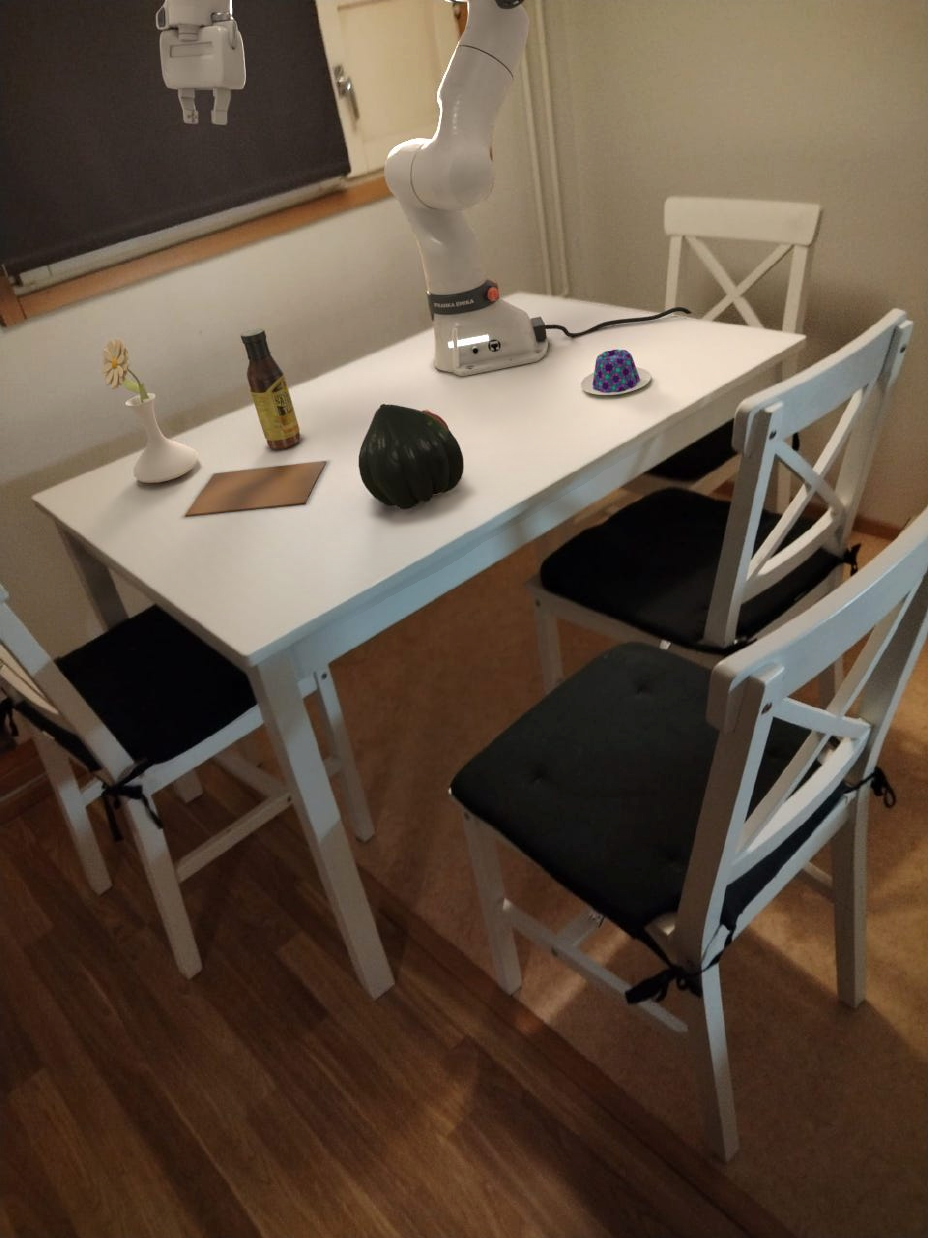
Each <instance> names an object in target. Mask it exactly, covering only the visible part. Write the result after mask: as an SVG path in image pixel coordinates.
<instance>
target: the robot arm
mask: <svg viewBox="0 0 928 1238" xmlns="http://www.w3.org/2000/svg"><path fill="white" fill-rule="evenodd" d="M445 1H446V2H448V3H452V4H458V5H463V4H467V19H466V24H465V27H464V31H463V33H462V34H461V36H460V39H459V41H458V43H457V45H456V48H455V50H454V53H453V54H452V56H451V59H450V62H449V64H448V67H447V69H446V71H445V74H444V75H443V78H442V80H441V83H440V85H439V88H438V90H437V103H438V105H439V108H440V114H439V121H438V126H437V130H436V132H435V134H434V136H433V138H432V139H430V138H429V139H428V138H415V139H410V140H408V141H405V142H402V143H401V144H398V145H397V146H395V147H393V149H392V150H391V151H390V152H389V153H388V156H387V157H386V160H385V162H384V169H383V173H384V174H383V175H384V176H383V177H384V181H385V184H386V186H387V189H388V190H389V191H390V193H391V194H392V195H393V197H395V199H396V200H397V201H398V203H399V205H400V206H401V209H402V210H403V213H404V215H405V217H406V219H407V222H408V225H409V227H410V229H411V231H412V233H413V236H414V238H415V241H416V243H417V246H418V247H417V248H418V250H419V253H420V258H421V262H422V268H423V272H424V276H425V282H426V286H427V291H426V292H425V293H426V303H427V307H428V312H429V316H430V319H431V321H432V324H433V333H434V334H433V335H434V358H433V366H434V367H435V368H436V369H438V370H440V371H443V372H449V373H453V374H454V375H456V376H460V377H466V376H471V375H476V374H482V373H487V372H491V371H496V370H501V369H507V368H511V367H516V366H522V365H526V364H527V365H528V364H531V363H535V362H538V361H540V360H541V359H543V358H544V356H545V355H546V354H547V352H548V348H549V342H548V335H547V330H560V331H562V332H563V334H564V335H565V336H566V337H569V338H578V337H580V336H584V335H587V334H590V333H592V332H595V331H597V330H600V329H602V328H605V327H609V326H613V325H621V324H631V323H641V322H642V323H643V322H649V321H656V320H658V319H662V318H664V317H666V316H668V315H670V314H674V313H676V312H681V313H685V314H686V315H690V314H692V311H691V310H690V309H689V308H686V307H683V306H677V307H676V306H675V307H672V308H670V309H667V310H665V311H663V312H660V313H658V314H657V313H656V314H654V315H649V316H641V317H631V318H630V317H629V318H619V319H614V320H607V321H603V322H601V323H599V324H596V325H594V326H592V327H590V328H588V329H586V330H584V331H580V332H570V331H569V330H568V329H567V327H566V326H564V325H561V324H546V323H545V322H544V319H543V318H542V317H541V316H537V317H531V318H530V316H529V314H528V313H527V311H524V310H523V309H521V308H520V307H517V306H516V305H513V304H511V303H509V302H508V301H506V300H504V299H503V298H500V290H499V284H498V281H497V279H494V281H493V280H491V279H489V278H487V277H486V272H485V264H484V258H483V252H482V246H481V241H480V237H479V235H478V232H477V231H476V230H475V229H474V228H473V227H472V226H471V224H470V222H469V221H468V219H467V218H466V215H465V213H464V211H467V210H470V209H474V208H477V207H480V206H481V205H483V204H484V203H485V202H486V201H487V200H488V199H489V197H490V196H491V194H492V193H493V189H494V186H495V179H496V172H495V171H496V170H495V166H494V163H493V161H492V158H491V148H492V142H493V141H492V140H493V135H494V131H495V127H496V124H497V120H498V118H499V116H500V113H501V111H502V108H503V105H504V103H505V101H506V99H507V96H508V94H509V91H510V89H511V87H512V85H513V82H514V80H515V77H516V75H517V72H518V70H519V67H520V64H521V61H522V58H523V55H524V52H525V49H526V45H527V42H528V38H529V37H528V36H529V33H530V18H529V15H528V13H527V10H526V9H525V7H524V6H523V5H522V4H523V3H524V2H525V1H526V0H445ZM232 6H233V5H232V0H164V2H163V5H161V7H160V9H158V11H157V12H156V14H155V26H156V29H157V30H159V31H161V33H160V35H159V53H160V65H161V75H162V79H163V81H164V85H165V86H166V88H168V89H173V90H177V97H178V100H179V103H180V106H181V109H182V119H183V122H184V123H185V124H192V125H197V124H198V123H199V110H197V109H196V105H195V99H196V91H205V90H206V91H211V90H212V96H213V97H214V102H213V104H214V105H213V109H211V111H210V113H211V114H210V115H211V123H212V124H214V125H220V126H226V125H227V124H228V110H229V106H230V103H231V100H232V90H243V89H244V86H245V84H246V79H247V78H246V63H245V50H244V44H243V36H242V35H241V32H240V31H239V30H238V24H237V21H235V19H234V17H233V8H232Z"/></svg>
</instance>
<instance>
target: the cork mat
mask: <svg viewBox="0 0 928 1238" xmlns="http://www.w3.org/2000/svg"><path fill="white" fill-rule="evenodd" d="M326 463H327V461H326V460H322V461H321V460H320V461H313V462H304V463H295V464H286V465H277V466H270V467H269V466H268V467H260V468H251V469H242V470H234V471H223V472H215V473H213V474H212V475H211V477H210V478H209V480H208V481H207V483H206V484H205V486H204V487H203V488H202V490H201V492H200V493H199V494H198V496H197V497H196V499H195V500H194V501H193V503H192V504H191V505H190V507H189V509H188V510H187V511H186V513H185V514H184V515H185V517H192V516H202V515H210V514H220V513H230V512H241V511H249V510H251V511H252V510H259V509H260V510H261V509H270V508H279V507H287V506H288V507H289V506H297V505H306V503H307V501H308V499H309V497H310V495H311V494H312V491H313V489H314V487H315V485H316V483H317V482H318V480H319V477H320V475H321V474H322V471H323V470H324V467H325V465H326Z"/></svg>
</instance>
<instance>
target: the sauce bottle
mask: <svg viewBox="0 0 928 1238" xmlns="http://www.w3.org/2000/svg"><path fill="white" fill-rule="evenodd" d="M240 339H241V342H242V344H243V345H244V349H245V351H246V355H247V359H248V361H249V362H248V366H247V371H246V378H247V382H248V385H249V388H250V390H249V391H250V393H251V397H252V401H253V404H254V407H255V410H256V413H257V417H258V420H259V425H260V427H261V430H262V433H263V436H264V439H265V440H266V443H267V446H268V447H269V448H270V449H273V450H283V449H284V450H285V449H287V448H289V447H292V446H294V445H296V444H297V443H299V442H300V440H301V432H300V430H301V429H300V426H299V422H298V418H297V416H296V411H295V407H294V404H293V402H292V401H293V400H292V398H291V394H290V390H289V387H288V384H287V380H286V377H285V376H286V375H285V373H284V372H283V370H282V369H281V368H280V366H279V364H278V363H277V361H276V360H275V358H274V357H273V355H272V352H271V351H270V348H269V344H268V341H267V334H266V331H265V329H264V328H261V327H257V328H252V329H247V330H246V331H243V332H242V333H240Z"/></svg>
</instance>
